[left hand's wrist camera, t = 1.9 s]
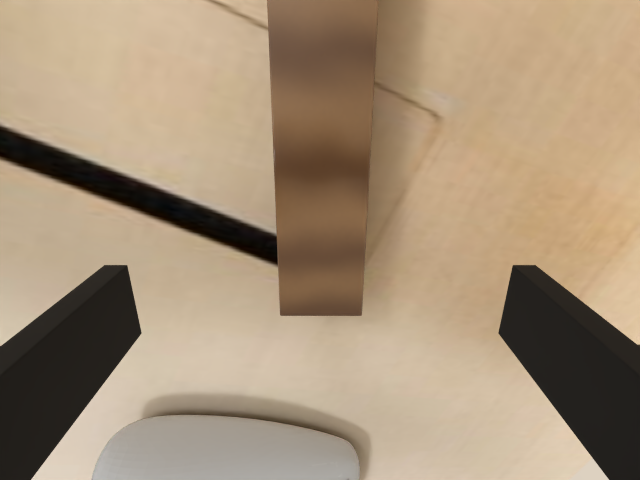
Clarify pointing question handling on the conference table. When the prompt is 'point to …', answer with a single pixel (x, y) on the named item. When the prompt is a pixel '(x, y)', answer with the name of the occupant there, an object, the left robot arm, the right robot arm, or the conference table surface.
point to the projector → (224, 451)
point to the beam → (322, 149)
